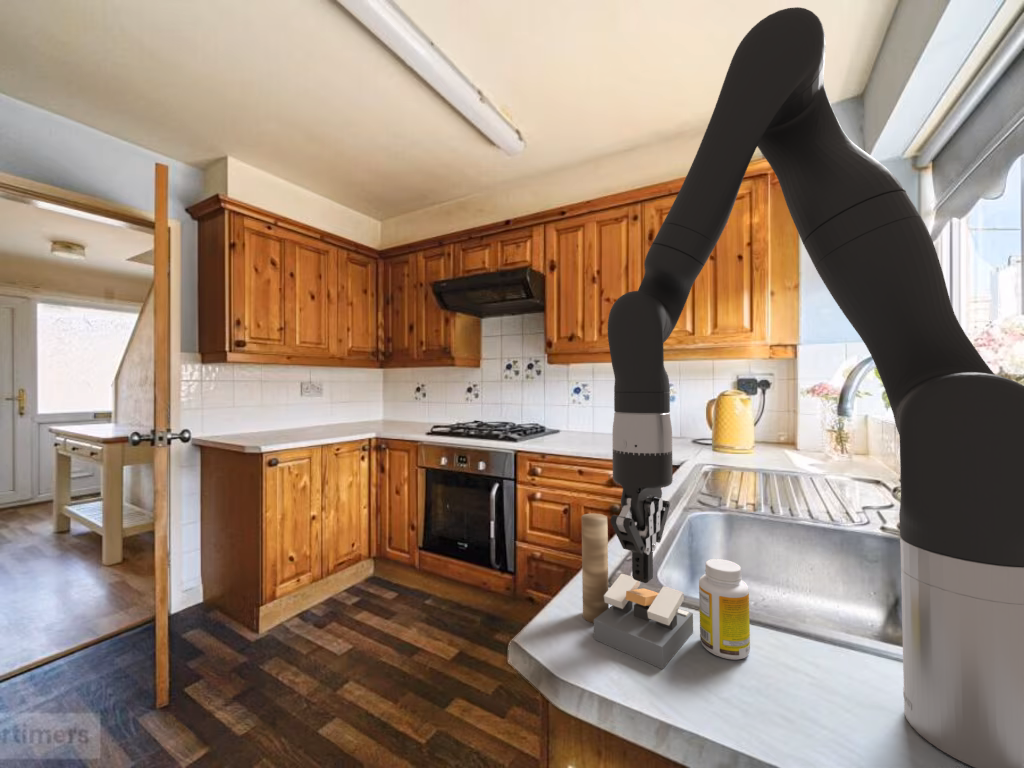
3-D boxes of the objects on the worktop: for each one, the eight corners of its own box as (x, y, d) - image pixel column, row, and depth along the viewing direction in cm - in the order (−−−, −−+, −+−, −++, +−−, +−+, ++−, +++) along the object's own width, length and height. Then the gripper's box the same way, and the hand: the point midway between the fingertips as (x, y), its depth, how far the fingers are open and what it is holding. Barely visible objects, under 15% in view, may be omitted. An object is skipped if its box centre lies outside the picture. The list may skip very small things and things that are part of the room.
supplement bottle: (757, 649, 52) (756, 565, 53) (738, 668, 49) (736, 578, 49) (712, 630, 57) (711, 552, 57) (691, 646, 53) (690, 563, 53)
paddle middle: (661, 605, 57) (662, 594, 57) (644, 609, 53) (645, 597, 53) (642, 599, 58) (643, 588, 59) (625, 603, 55) (626, 591, 55)
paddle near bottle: (684, 602, 55) (683, 592, 54) (669, 628, 51) (668, 618, 51) (664, 595, 56) (663, 586, 56) (648, 621, 53) (647, 611, 52)
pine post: (613, 616, 60) (612, 516, 61) (600, 626, 58) (599, 522, 58) (591, 607, 63) (590, 512, 63) (577, 617, 60) (576, 517, 61)
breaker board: (693, 632, 56) (692, 602, 56) (662, 669, 49) (662, 634, 49) (629, 609, 62) (629, 582, 62) (593, 639, 55) (593, 608, 55)
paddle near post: (640, 588, 59) (639, 578, 58) (623, 612, 55) (621, 602, 55) (623, 582, 60) (621, 573, 60) (605, 605, 57) (603, 595, 56)
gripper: (647, 455, 49) (648, 608, 48) (689, 444, 59) (690, 571, 58) (590, 449, 54) (590, 588, 53) (637, 440, 64) (638, 557, 63)
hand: (642, 579), depth 56 cm, fingers closed
